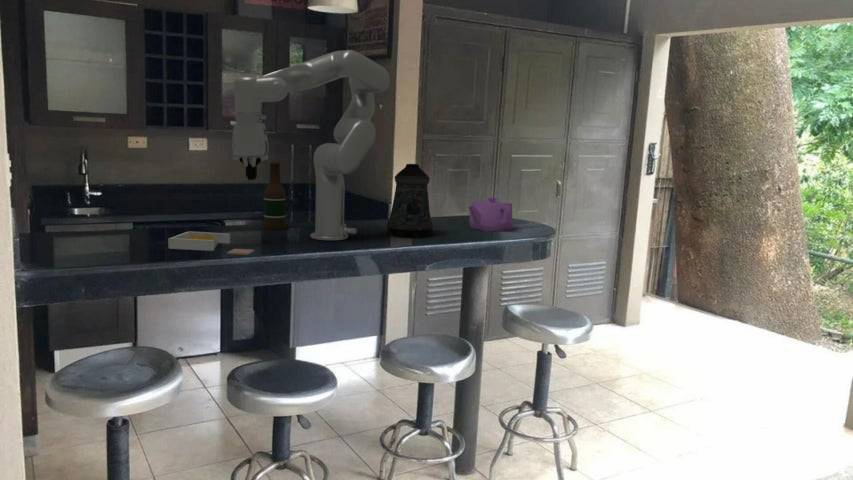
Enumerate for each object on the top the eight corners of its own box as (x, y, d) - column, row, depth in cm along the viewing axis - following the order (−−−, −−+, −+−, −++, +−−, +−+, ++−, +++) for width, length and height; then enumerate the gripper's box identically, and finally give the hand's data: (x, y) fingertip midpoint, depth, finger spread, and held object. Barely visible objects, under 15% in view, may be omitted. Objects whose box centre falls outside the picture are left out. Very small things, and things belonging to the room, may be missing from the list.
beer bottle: (290, 228, 253) (290, 161, 249) (274, 231, 246) (275, 162, 242) (274, 226, 257) (274, 160, 253) (258, 228, 250) (258, 161, 246)
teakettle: (511, 233, 263) (512, 200, 261) (466, 230, 266) (467, 198, 264) (513, 227, 280) (515, 196, 278) (470, 224, 282) (472, 193, 280)
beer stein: (395, 239, 239) (397, 165, 235) (378, 230, 257) (379, 162, 253) (439, 237, 245) (442, 166, 241) (420, 229, 263) (422, 162, 259)
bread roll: (195, 244, 217) (195, 231, 216) (221, 246, 214) (221, 233, 213) (179, 248, 209) (179, 235, 208) (205, 250, 206) (205, 237, 206)
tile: (254, 251, 207) (254, 249, 207) (247, 255, 201) (247, 253, 201) (234, 250, 208) (234, 248, 208) (227, 254, 202) (227, 252, 202)
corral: (230, 243, 219) (229, 233, 219) (213, 250, 206) (213, 240, 205) (188, 240, 220) (187, 231, 220) (168, 248, 207) (168, 238, 206)
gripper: (276, 118, 214) (278, 178, 218) (228, 118, 215) (232, 178, 219) (269, 119, 207) (272, 181, 211) (220, 119, 208) (223, 180, 212)
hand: (251, 179), depth 215 cm, fingers closed
